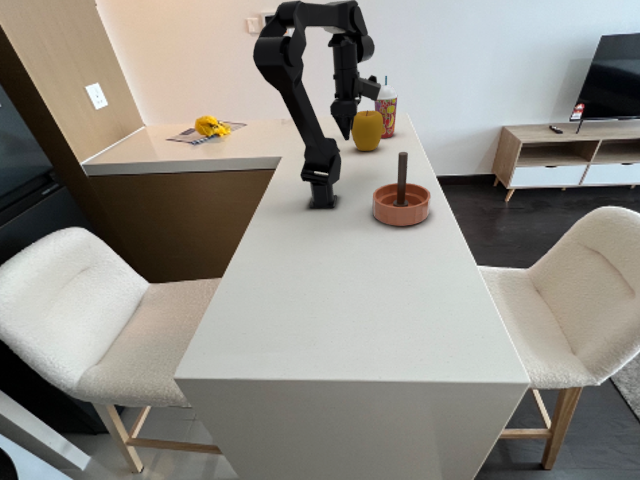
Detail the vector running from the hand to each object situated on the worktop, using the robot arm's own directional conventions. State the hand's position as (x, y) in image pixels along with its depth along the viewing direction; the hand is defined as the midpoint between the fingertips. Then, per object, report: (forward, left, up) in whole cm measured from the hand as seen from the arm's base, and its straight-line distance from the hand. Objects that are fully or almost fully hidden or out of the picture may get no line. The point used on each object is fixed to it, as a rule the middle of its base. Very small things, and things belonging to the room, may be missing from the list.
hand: (348, 134), depth 91 cm
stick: (-20, -14, -12) cm, 27 cm away
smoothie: (+41, -9, -13) cm, 44 cm away
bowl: (-20, -14, -13) cm, 28 cm away
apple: (+26, -3, -13) cm, 29 cm away
